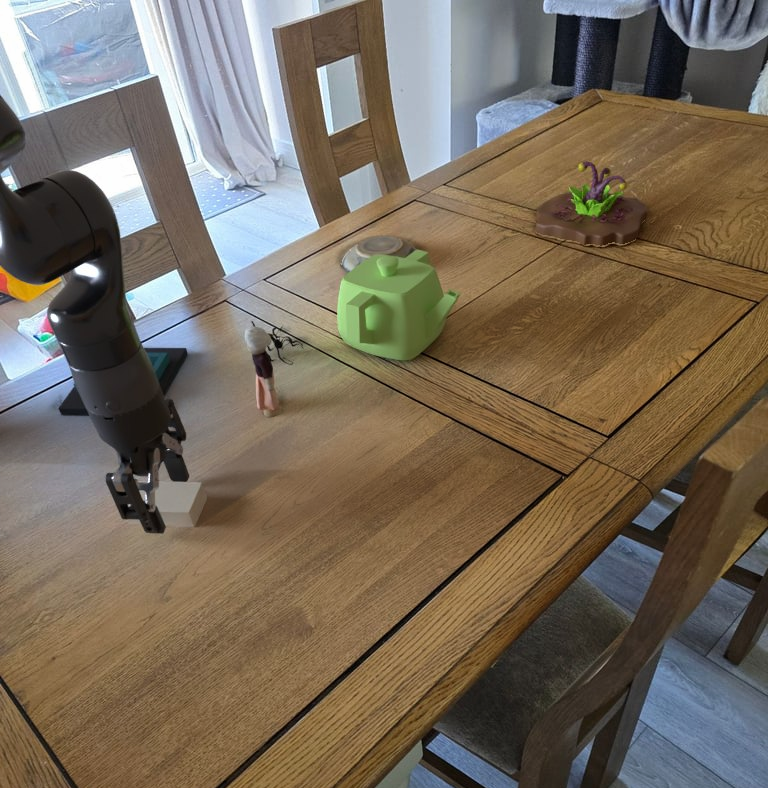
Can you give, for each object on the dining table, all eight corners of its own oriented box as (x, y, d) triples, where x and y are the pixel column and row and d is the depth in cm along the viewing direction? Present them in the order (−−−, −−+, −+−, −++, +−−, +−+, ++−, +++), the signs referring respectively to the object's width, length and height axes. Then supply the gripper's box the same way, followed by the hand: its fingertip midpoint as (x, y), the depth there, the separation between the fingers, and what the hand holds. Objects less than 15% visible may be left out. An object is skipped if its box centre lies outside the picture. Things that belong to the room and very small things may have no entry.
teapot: (488, 327, 108) (491, 245, 99) (421, 393, 97) (418, 309, 88) (390, 301, 116) (384, 224, 107) (318, 361, 105) (304, 280, 96)
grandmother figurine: (250, 400, 99) (229, 320, 90) (275, 391, 100) (257, 311, 91) (268, 428, 94) (249, 346, 85) (295, 418, 95) (278, 337, 86)
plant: (553, 198, 141) (559, 139, 133) (652, 209, 134) (664, 147, 126) (522, 240, 129) (526, 177, 121) (629, 253, 122) (641, 187, 114)
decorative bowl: (349, 246, 133) (331, 282, 123) (348, 226, 131) (329, 262, 120) (427, 247, 131) (415, 284, 120) (427, 227, 128) (415, 264, 118)
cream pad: (133, 534, 82) (122, 510, 79) (148, 504, 85) (138, 480, 82) (198, 536, 81) (188, 512, 78) (210, 506, 84) (202, 482, 81)
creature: (300, 344, 111) (249, 342, 109) (302, 313, 108) (250, 310, 106) (305, 370, 106) (252, 369, 104) (307, 339, 102) (252, 336, 100)
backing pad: (61, 415, 100) (53, 399, 98) (105, 354, 111) (99, 339, 109) (152, 416, 98) (146, 400, 96) (188, 354, 109) (183, 339, 107)
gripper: (113, 351, 75) (159, 464, 87) (54, 434, 65) (115, 549, 77) (179, 351, 74) (217, 465, 86) (129, 434, 64) (180, 551, 76)
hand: (169, 504), depth 81 cm, fingers open, 8 cm apart
